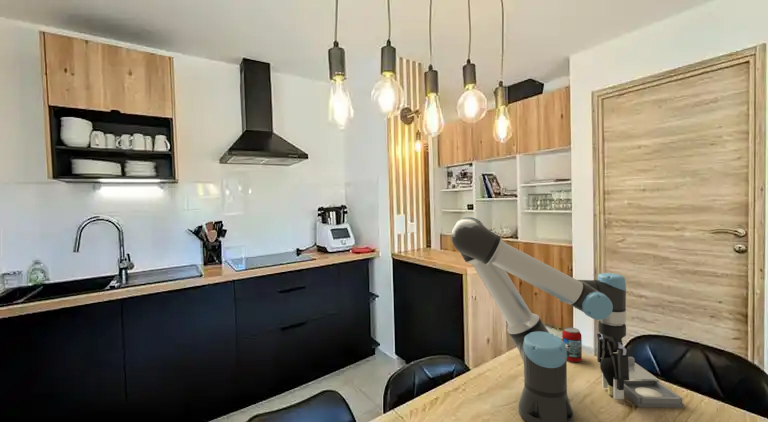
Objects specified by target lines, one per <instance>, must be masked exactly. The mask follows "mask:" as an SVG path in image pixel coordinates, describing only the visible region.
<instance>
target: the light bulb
mask: <svg viewBox="0 0 768 422" xmlns="http://www.w3.org/2000/svg"><path fill="white" fill-rule="evenodd" d="M599 365H600V366H599V368H600V372H601V374H602V373H603V375H604V377H605V379H606V380H607V382H608V388H607V394H608V395H609V396H612V397H614V395H613V377H615V373H614V367H613V361H612V358H610V357H608V358H604V359H603V360H602V361H601V364H600V363H599Z"/></svg>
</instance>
